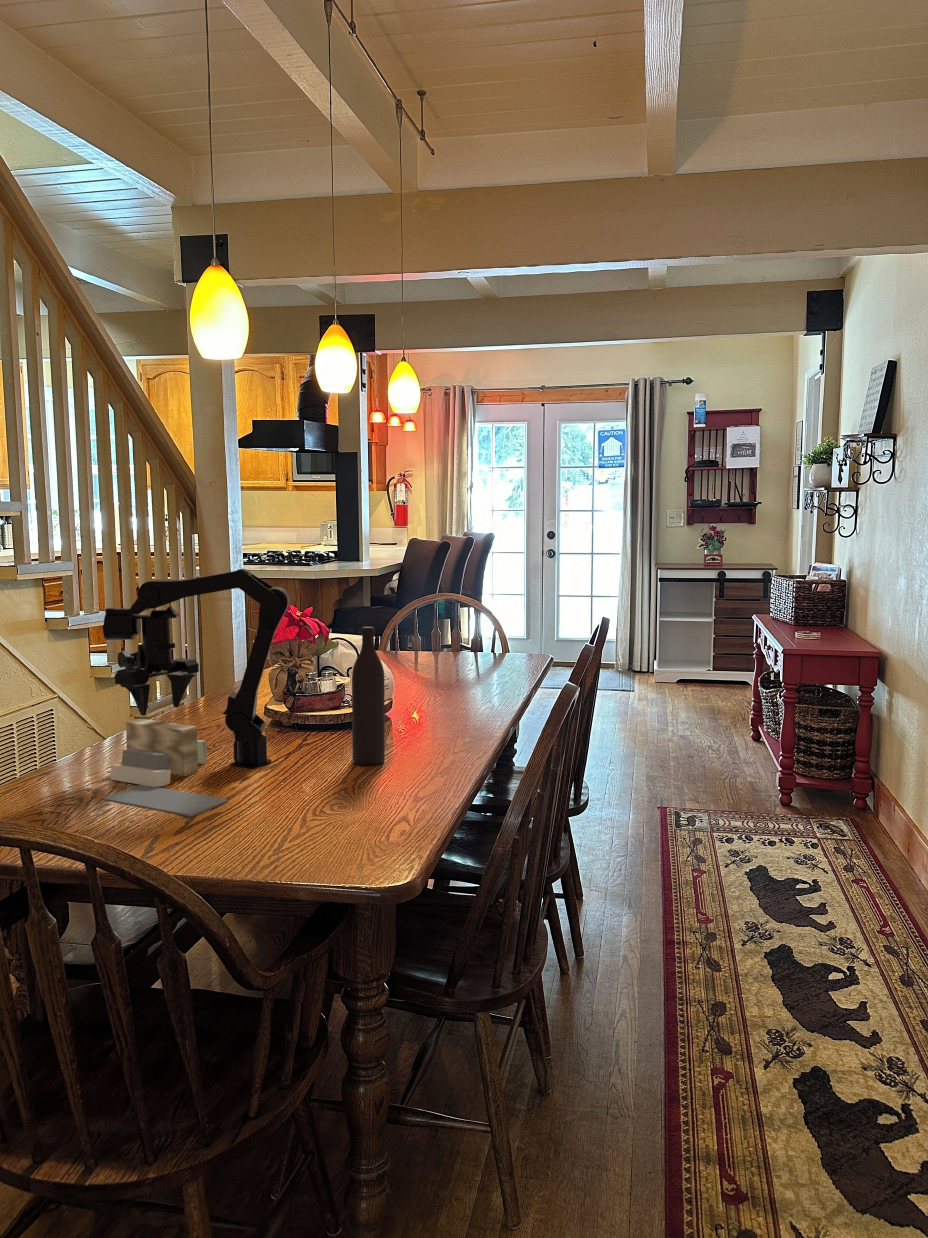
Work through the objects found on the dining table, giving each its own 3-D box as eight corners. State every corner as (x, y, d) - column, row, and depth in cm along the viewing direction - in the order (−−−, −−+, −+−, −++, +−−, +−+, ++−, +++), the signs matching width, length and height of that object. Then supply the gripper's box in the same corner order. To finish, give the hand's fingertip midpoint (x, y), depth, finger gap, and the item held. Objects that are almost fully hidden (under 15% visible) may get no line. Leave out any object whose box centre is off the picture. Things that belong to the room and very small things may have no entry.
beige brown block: (198, 772, 195) (196, 726, 194) (184, 777, 192) (183, 730, 191) (141, 763, 202) (139, 718, 201) (127, 767, 199) (125, 722, 198)
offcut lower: (169, 784, 187) (170, 770, 187) (155, 787, 183) (156, 772, 183) (125, 777, 192) (126, 762, 192) (110, 779, 188) (111, 764, 188)
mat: (228, 801, 176) (228, 799, 175) (191, 817, 167) (191, 815, 167) (141, 786, 185) (141, 784, 185) (102, 800, 176) (102, 798, 176)
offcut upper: (167, 768, 189) (169, 753, 189) (156, 770, 185) (157, 755, 185) (133, 763, 192) (134, 748, 192) (121, 764, 189) (122, 750, 189)
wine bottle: (389, 759, 206) (388, 626, 203) (378, 767, 200) (377, 629, 196) (359, 757, 208) (358, 624, 205) (347, 765, 201) (346, 628, 198)
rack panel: (207, 763, 202) (206, 740, 202) (203, 764, 201) (202, 742, 201) (165, 756, 207) (164, 734, 207) (161, 757, 206) (160, 736, 206)
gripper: (162, 631, 208) (165, 699, 210) (94, 642, 192) (98, 716, 194) (199, 634, 203) (202, 704, 205) (132, 645, 187) (136, 721, 189)
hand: (160, 711), depth 198 cm, fingers open, 9 cm apart
